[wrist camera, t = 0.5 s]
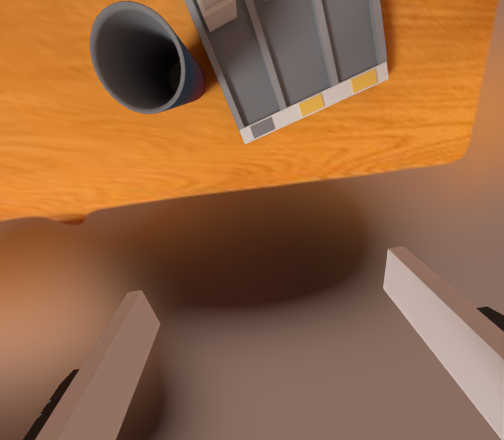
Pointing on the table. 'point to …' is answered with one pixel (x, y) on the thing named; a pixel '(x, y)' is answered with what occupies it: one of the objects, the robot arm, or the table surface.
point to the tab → (217, 12)
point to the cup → (143, 59)
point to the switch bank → (293, 57)
